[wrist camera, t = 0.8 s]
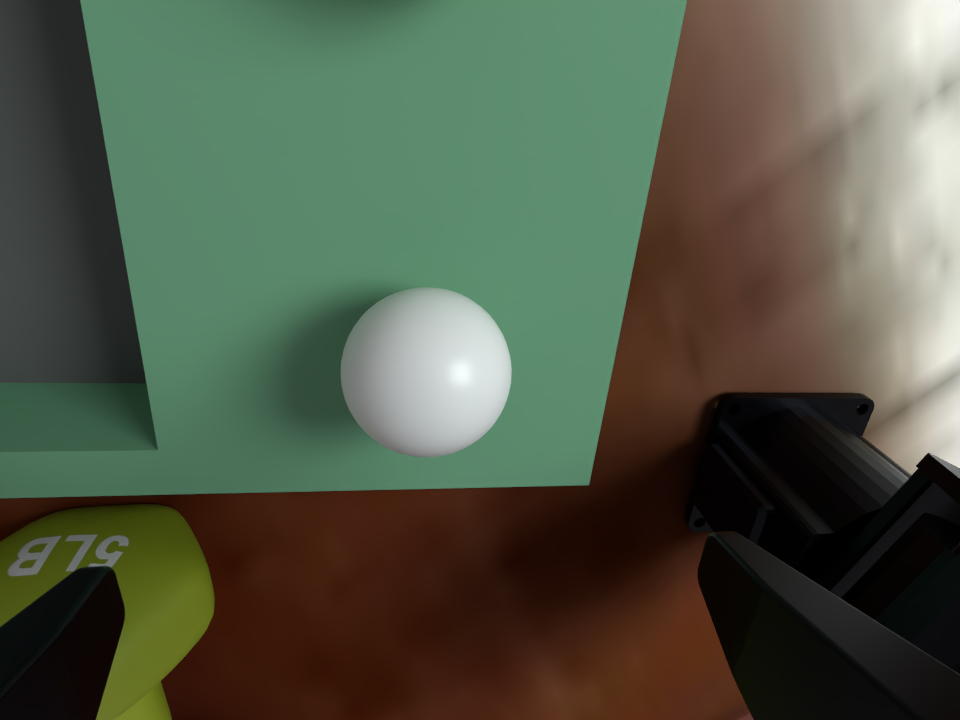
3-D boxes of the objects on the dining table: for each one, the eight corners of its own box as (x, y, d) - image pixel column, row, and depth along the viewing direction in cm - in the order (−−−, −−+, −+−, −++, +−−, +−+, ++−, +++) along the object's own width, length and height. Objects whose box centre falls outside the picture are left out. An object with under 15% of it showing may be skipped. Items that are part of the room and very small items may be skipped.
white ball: (503, 268, 16) (539, 329, 12) (488, 403, 17) (516, 491, 14) (344, 261, 15) (332, 324, 11) (346, 402, 17) (336, 495, 13)
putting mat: (697, -444, 13) (814, -628, 10) (556, 418, 23) (588, 485, 19) (-516, -753, 10) (-1030, -1218, 6) (-82, 420, 19) (-187, 502, 16)
